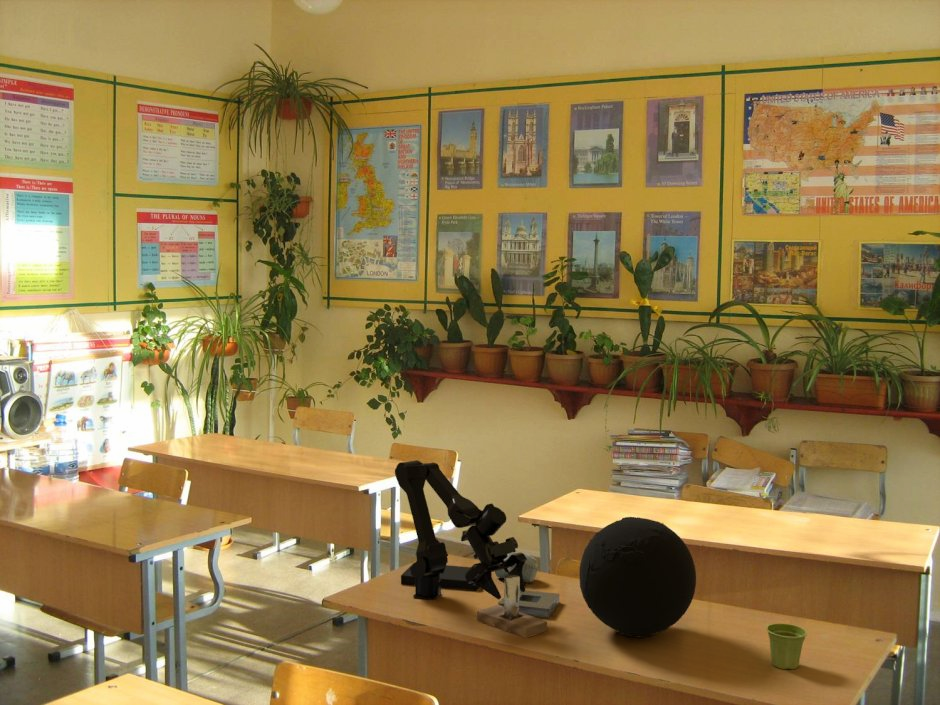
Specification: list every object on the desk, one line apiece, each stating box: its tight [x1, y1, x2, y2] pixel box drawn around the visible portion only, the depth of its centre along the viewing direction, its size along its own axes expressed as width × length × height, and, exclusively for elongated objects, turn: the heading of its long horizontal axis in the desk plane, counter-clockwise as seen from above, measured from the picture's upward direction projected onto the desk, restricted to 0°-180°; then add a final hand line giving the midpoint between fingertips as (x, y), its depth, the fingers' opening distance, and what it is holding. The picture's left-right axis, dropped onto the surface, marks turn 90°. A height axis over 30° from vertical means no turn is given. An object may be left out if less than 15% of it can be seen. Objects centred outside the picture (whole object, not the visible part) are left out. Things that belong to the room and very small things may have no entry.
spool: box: [494, 552, 539, 584], centre depth 311 cm, size 14×10×10 cm
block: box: [497, 589, 560, 619], centre depth 285 cm, size 14×14×2 cm
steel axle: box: [503, 575, 520, 620], centre depth 270 cm, size 4×4×13 cm
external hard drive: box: [400, 562, 480, 591], centre depth 309 cm, size 14×23×3 cm, turn 77°
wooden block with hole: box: [475, 604, 548, 639], centre depth 270 cm, size 18×8×2 cm, turn 44°
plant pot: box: [766, 622, 808, 670], centre depth 245 cm, size 9×9×9 cm
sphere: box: [578, 516, 697, 638], centre depth 265 cm, size 30×30×30 cm
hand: (512, 594), depth 269 cm, fingers open, 9 cm apart
